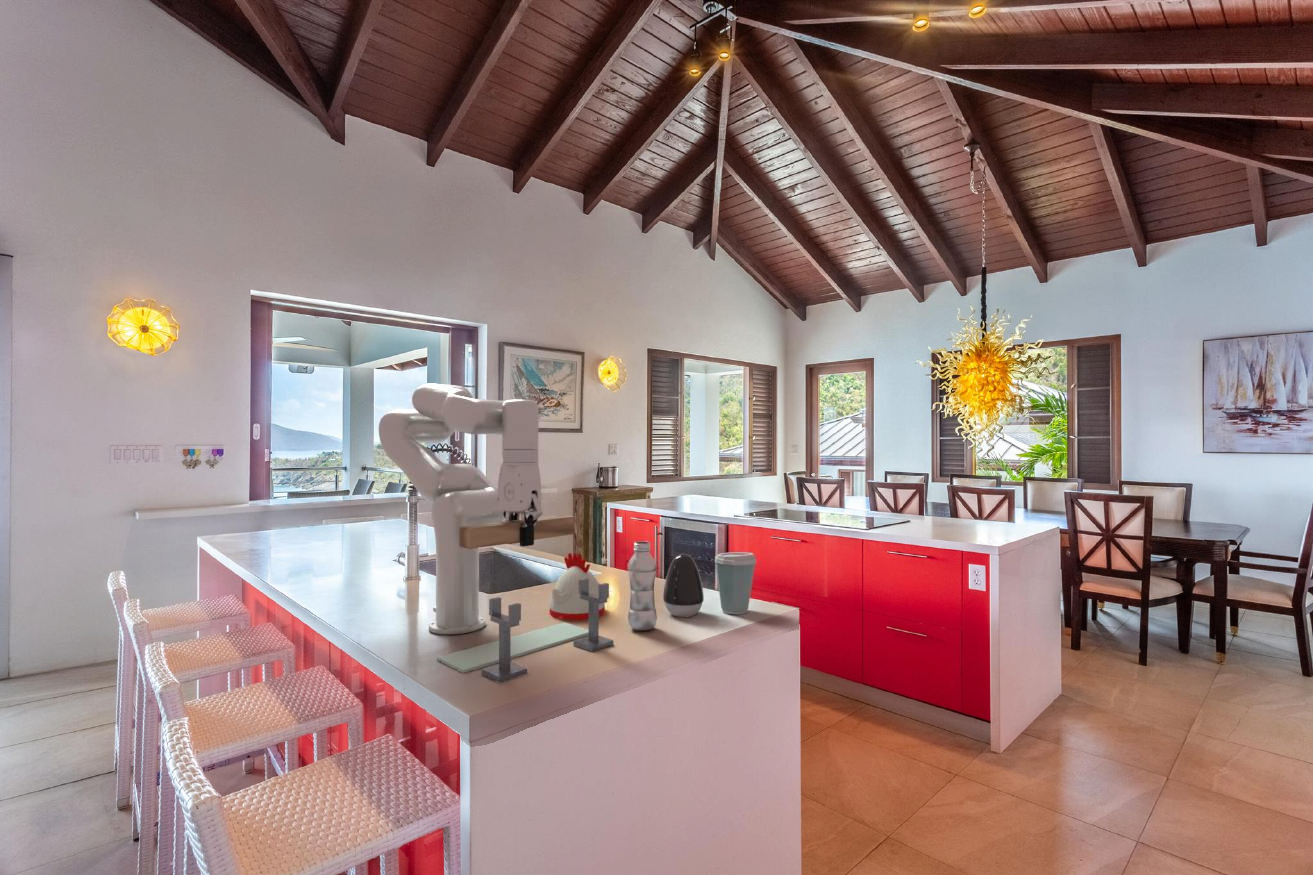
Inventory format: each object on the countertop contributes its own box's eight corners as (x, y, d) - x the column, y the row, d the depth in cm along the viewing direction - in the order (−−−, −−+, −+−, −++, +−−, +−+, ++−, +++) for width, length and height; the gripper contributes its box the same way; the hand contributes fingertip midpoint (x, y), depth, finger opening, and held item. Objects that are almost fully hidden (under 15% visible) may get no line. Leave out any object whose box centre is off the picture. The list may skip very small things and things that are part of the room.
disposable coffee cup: (705, 611, 155) (705, 552, 156) (730, 603, 163) (730, 547, 164) (740, 619, 148) (740, 558, 148) (764, 610, 156) (764, 552, 156)
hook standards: (479, 673, 114) (479, 601, 114) (592, 638, 134) (592, 576, 134) (501, 684, 109) (502, 608, 109) (615, 645, 129) (615, 581, 129)
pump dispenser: (711, 612, 155) (711, 552, 155) (691, 622, 146) (691, 559, 146) (676, 606, 160) (676, 548, 160) (655, 616, 151) (655, 554, 152)
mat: (437, 660, 121) (437, 657, 121) (564, 624, 144) (564, 622, 144) (463, 673, 114) (463, 670, 114) (592, 633, 137) (592, 631, 137)
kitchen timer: (576, 602, 164) (576, 547, 165) (615, 610, 156) (615, 552, 157) (538, 614, 153) (538, 554, 153) (578, 623, 145) (578, 560, 145)
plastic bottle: (653, 634, 137) (653, 545, 137) (624, 632, 138) (624, 544, 138) (659, 626, 143) (659, 540, 143) (631, 624, 144) (631, 539, 145)
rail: (459, 546, 121) (459, 526, 121) (562, 532, 140) (562, 515, 140) (469, 549, 118) (470, 528, 118) (573, 534, 137) (573, 516, 137)
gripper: (483, 457, 132) (483, 542, 132) (529, 459, 121) (529, 551, 121) (512, 457, 138) (512, 538, 138) (559, 458, 126) (559, 546, 126)
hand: (520, 543), depth 129 cm, fingers closed on rail, 4 cm apart
